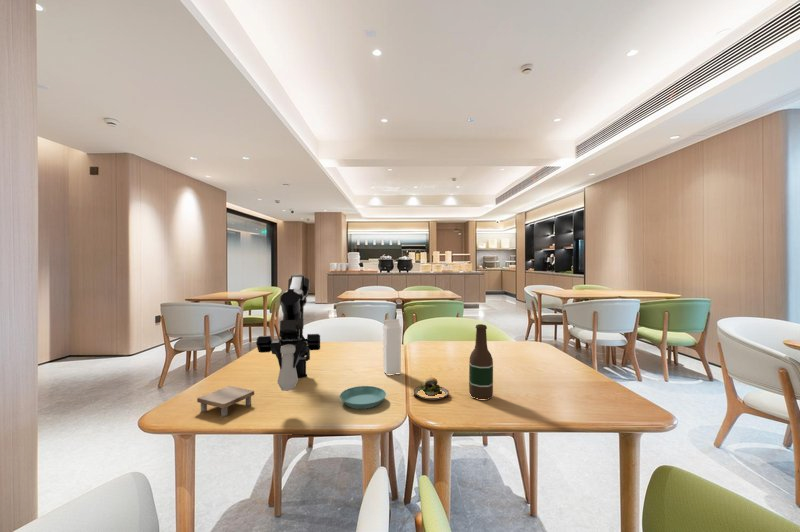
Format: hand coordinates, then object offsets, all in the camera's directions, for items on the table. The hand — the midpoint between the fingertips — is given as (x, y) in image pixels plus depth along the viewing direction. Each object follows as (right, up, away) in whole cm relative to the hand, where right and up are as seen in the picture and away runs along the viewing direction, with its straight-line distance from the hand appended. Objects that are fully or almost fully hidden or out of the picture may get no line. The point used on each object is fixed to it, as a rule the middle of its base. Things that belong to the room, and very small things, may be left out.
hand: (287, 368), depth 99 cm
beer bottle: (+61, -14, +13) cm, 64 cm away
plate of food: (+44, -14, +14) cm, 48 cm away
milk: (+30, -14, +37) cm, 50 cm away
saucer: (+22, -14, +8) cm, 27 cm away
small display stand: (-20, -13, +3) cm, 24 cm away
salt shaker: (0, -7, +1) cm, 7 cm away
